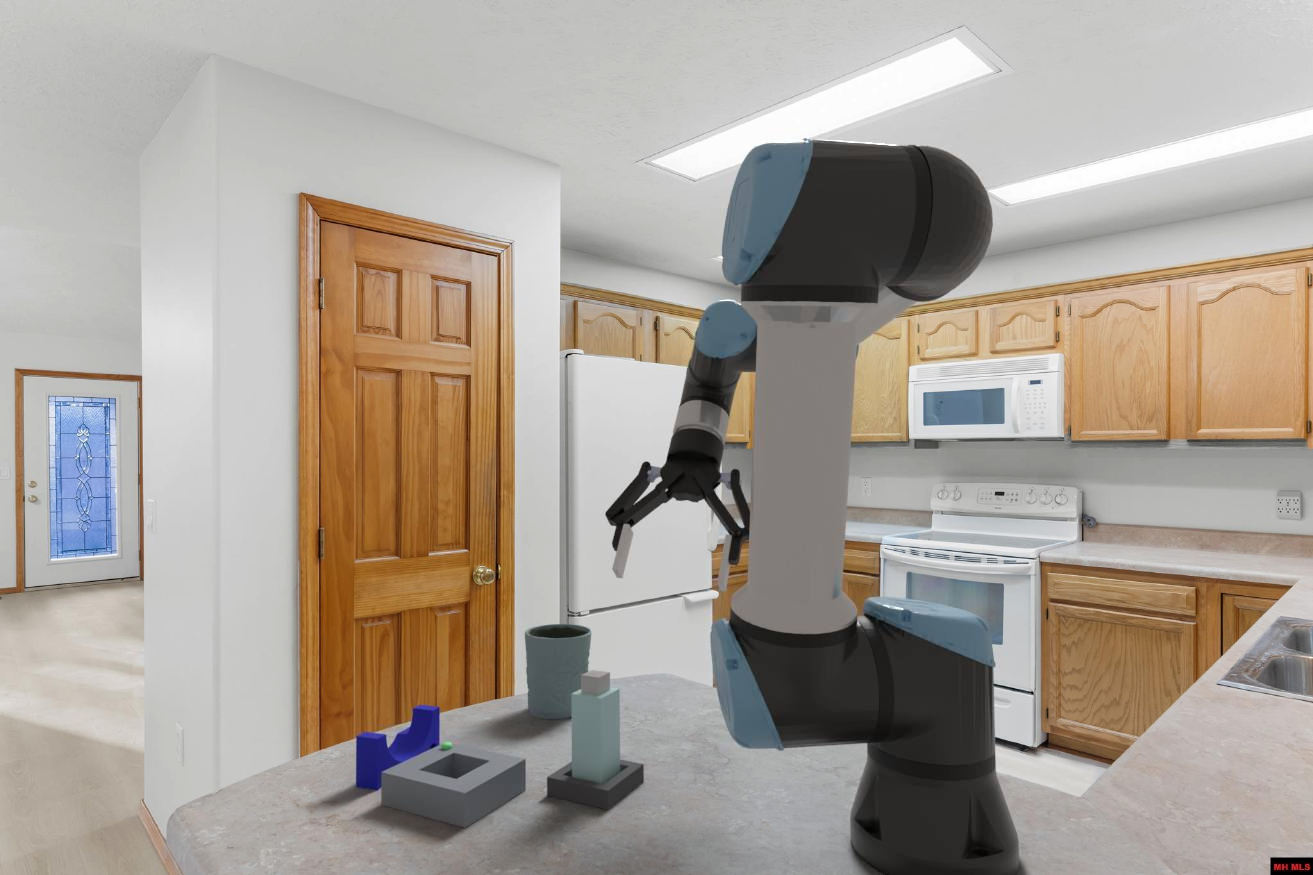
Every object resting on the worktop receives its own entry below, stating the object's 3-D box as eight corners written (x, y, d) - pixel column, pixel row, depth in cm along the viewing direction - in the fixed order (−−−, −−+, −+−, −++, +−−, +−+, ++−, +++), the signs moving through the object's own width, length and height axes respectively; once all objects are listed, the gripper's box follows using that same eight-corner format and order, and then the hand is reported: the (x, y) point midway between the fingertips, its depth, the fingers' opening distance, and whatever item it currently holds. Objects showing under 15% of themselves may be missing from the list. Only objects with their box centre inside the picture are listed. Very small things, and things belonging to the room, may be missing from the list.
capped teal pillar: (620, 784, 86) (619, 671, 87) (602, 798, 83) (601, 680, 83) (591, 778, 88) (590, 667, 89) (571, 791, 85) (571, 675, 85)
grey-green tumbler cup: (526, 701, 118) (526, 624, 118) (591, 698, 119) (590, 622, 119) (522, 722, 108) (522, 639, 108) (593, 719, 109) (592, 636, 109)
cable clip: (410, 749, 98) (410, 703, 99) (439, 753, 97) (439, 706, 97) (345, 786, 87) (345, 734, 87) (377, 791, 86) (377, 738, 86)
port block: (525, 789, 85) (525, 754, 85) (465, 827, 76) (465, 788, 76) (446, 770, 91) (446, 737, 91) (381, 804, 82) (381, 767, 82)
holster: (643, 781, 87) (643, 763, 87) (608, 809, 80) (607, 790, 80) (586, 769, 91) (585, 752, 91) (547, 795, 84) (547, 776, 84)
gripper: (788, 461, 105) (769, 604, 94) (620, 448, 111) (583, 580, 100) (786, 431, 99) (765, 579, 88) (608, 419, 105) (568, 556, 94)
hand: (668, 580), depth 94 cm, fingers open, 13 cm apart
